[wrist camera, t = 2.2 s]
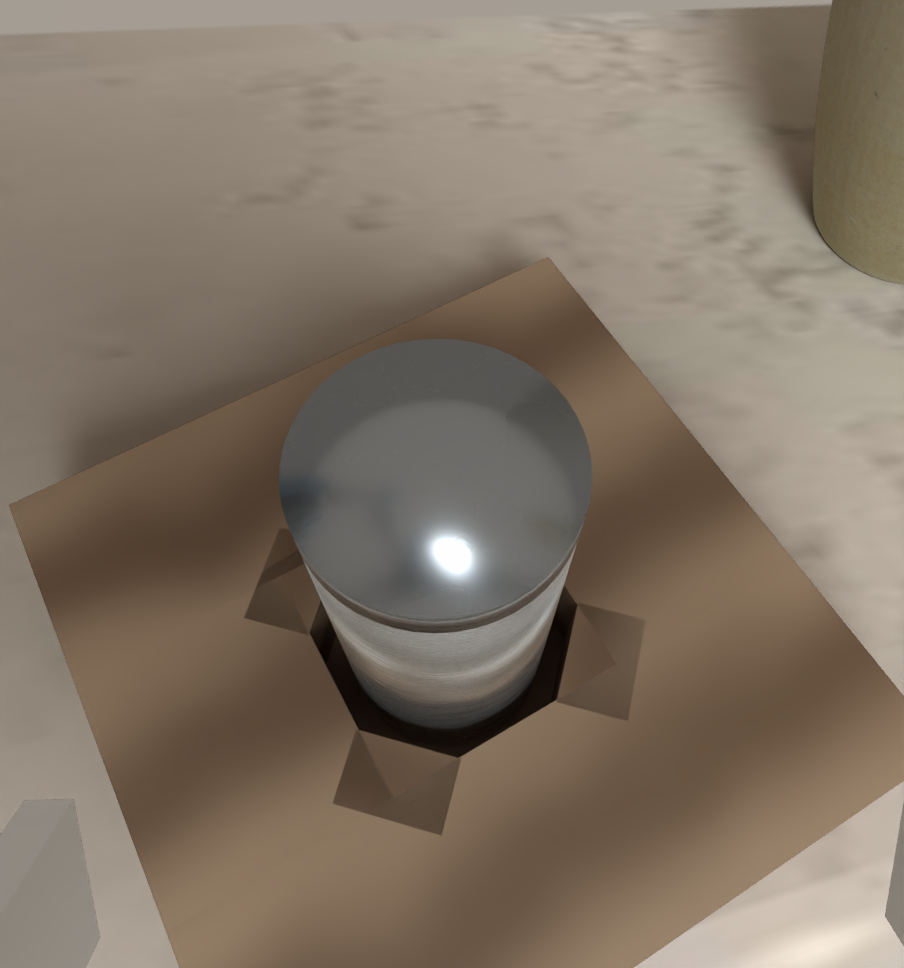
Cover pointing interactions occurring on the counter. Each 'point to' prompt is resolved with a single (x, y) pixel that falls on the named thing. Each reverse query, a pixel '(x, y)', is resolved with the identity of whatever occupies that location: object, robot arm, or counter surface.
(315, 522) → the silver capped jar
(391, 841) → the walnut socket block
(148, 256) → the counter surface
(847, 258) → the plant pot
